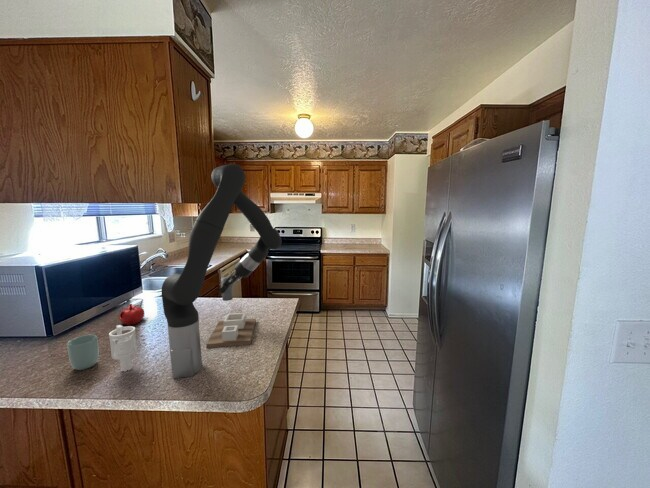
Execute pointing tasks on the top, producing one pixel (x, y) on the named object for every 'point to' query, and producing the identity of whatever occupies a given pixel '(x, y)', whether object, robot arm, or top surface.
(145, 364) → the top surface
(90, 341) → the cup
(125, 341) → the white tall rounded piece
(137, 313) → the pomegranate
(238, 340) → the board
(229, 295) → the capsule
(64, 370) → the top surface
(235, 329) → the socket fittings
